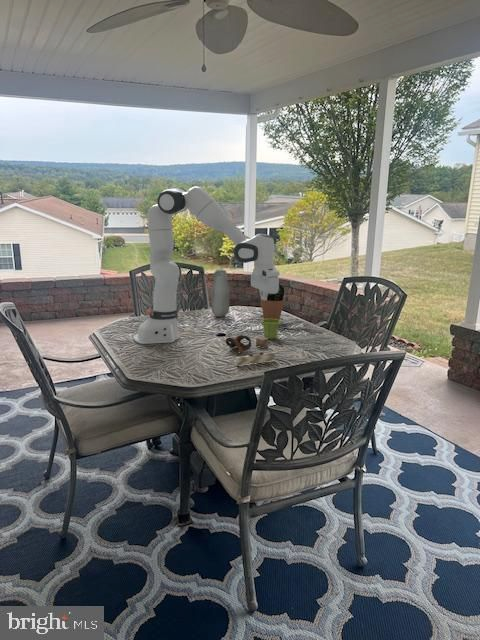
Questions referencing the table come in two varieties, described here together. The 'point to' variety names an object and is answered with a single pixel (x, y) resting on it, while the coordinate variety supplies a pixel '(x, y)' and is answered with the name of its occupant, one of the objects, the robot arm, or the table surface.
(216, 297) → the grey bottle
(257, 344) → the walnut block
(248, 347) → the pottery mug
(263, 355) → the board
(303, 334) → the table surface
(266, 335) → the plant pot
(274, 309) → the potted plant
